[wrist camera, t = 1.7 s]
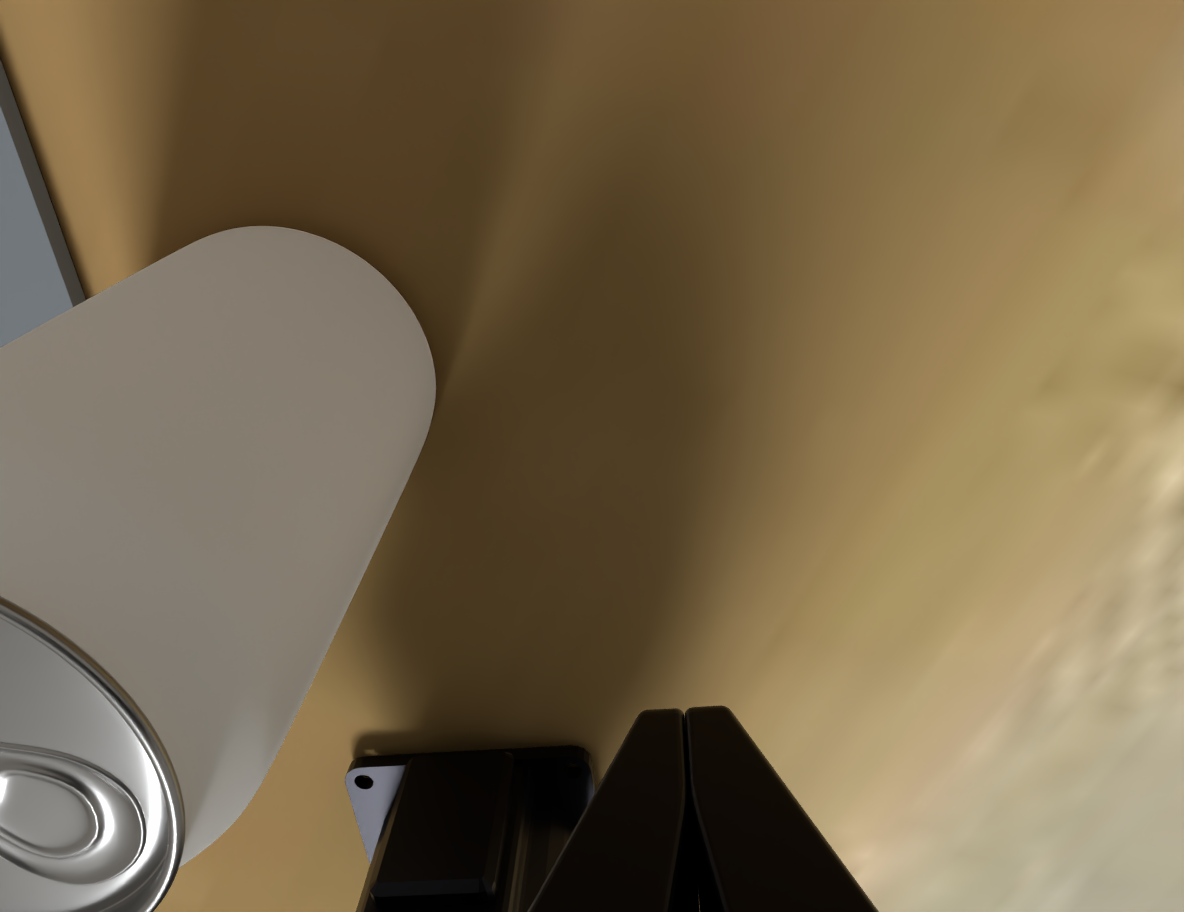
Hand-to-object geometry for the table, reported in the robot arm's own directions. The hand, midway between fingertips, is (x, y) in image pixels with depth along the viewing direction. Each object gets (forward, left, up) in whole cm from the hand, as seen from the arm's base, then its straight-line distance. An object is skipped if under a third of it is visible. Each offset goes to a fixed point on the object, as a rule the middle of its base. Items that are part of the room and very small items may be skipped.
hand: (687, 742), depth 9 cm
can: (0, +8, -12) cm, 14 cm away
